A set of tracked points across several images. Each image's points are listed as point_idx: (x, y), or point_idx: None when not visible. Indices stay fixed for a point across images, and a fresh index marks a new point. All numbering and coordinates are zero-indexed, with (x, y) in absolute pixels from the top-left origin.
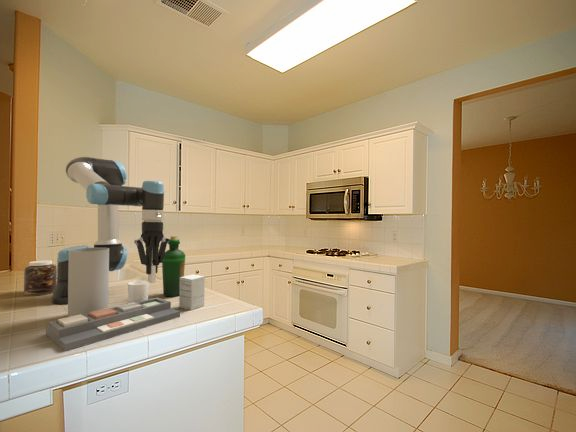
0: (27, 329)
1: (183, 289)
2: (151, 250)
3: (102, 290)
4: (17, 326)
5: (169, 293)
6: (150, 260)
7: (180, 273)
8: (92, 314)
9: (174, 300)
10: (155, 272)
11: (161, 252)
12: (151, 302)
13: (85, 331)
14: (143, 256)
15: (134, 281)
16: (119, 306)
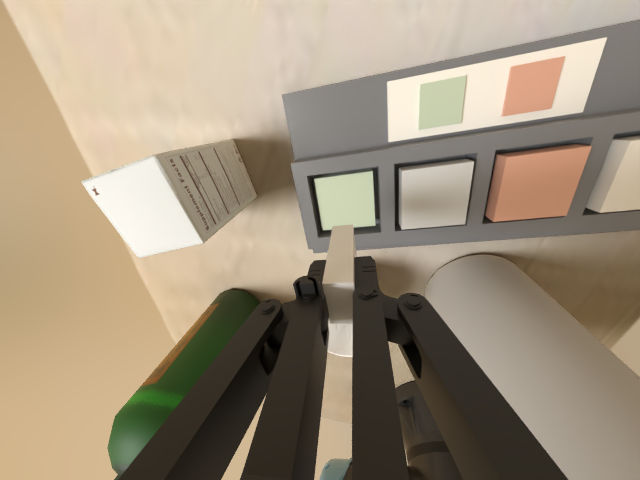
0: (615, 288)
1: (219, 196)
2: (364, 445)
3: (498, 314)
4: (609, 320)
5: (251, 302)
6: (367, 321)
7: (187, 341)
8: (574, 187)
9: (251, 263)
10: (328, 254)
11: (229, 393)
12: (337, 224)
13: (622, 105)
14: (467, 368)
15: (348, 354)
16: (461, 212)
